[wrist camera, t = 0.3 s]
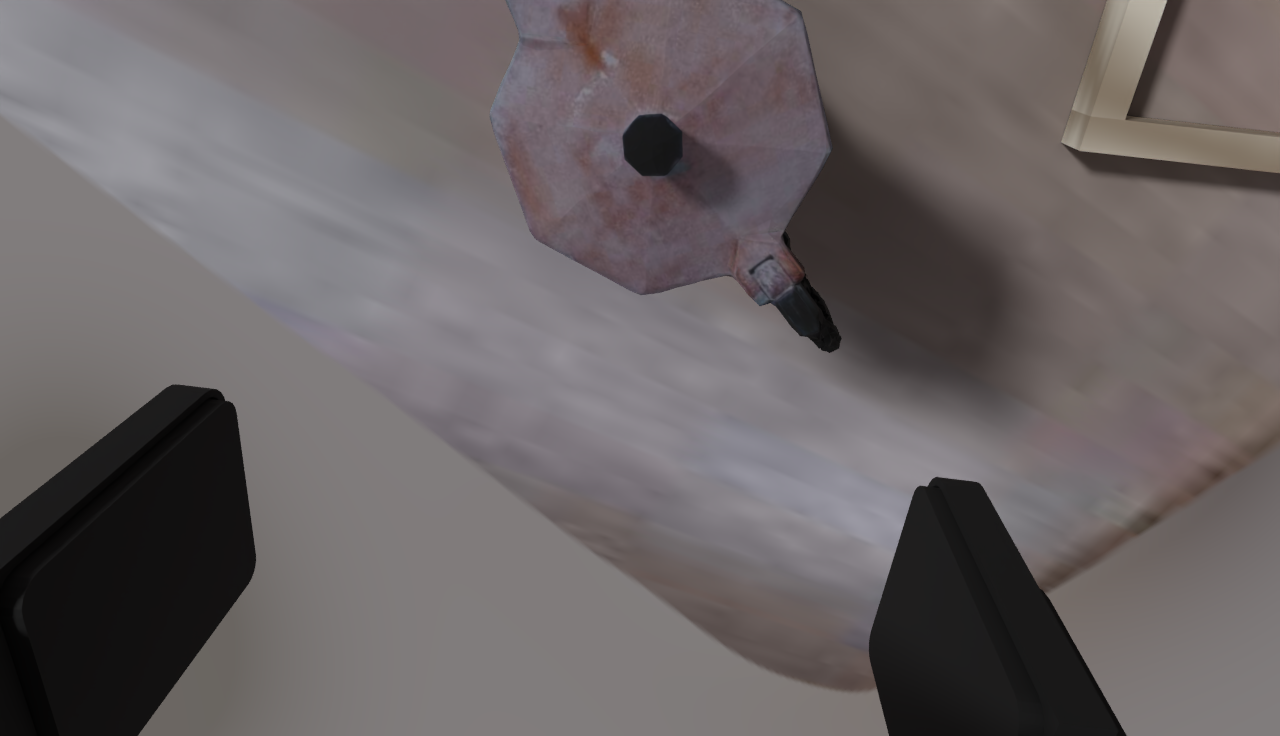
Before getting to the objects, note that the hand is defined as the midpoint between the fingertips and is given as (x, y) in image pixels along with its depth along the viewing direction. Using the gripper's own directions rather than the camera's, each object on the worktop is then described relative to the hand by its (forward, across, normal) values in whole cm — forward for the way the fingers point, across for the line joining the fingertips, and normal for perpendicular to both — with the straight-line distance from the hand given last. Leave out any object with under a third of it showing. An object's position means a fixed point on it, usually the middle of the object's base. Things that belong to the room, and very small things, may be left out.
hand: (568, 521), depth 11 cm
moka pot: (+31, -1, -2) cm, 31 cm away
